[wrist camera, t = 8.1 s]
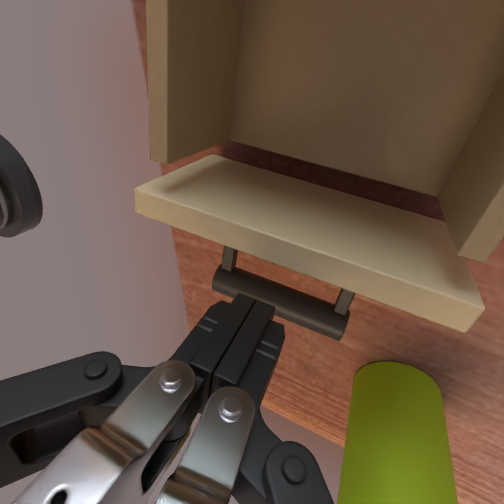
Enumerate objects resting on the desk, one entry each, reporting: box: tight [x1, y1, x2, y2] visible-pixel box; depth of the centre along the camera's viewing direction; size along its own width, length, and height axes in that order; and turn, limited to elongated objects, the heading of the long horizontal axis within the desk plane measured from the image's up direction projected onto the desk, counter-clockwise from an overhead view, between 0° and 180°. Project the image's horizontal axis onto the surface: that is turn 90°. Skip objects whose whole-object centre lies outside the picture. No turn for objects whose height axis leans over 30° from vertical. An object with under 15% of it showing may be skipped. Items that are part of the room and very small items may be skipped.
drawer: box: [134, 0, 504, 341], centre depth 11 cm, size 20×13×7 cm, turn 170°
